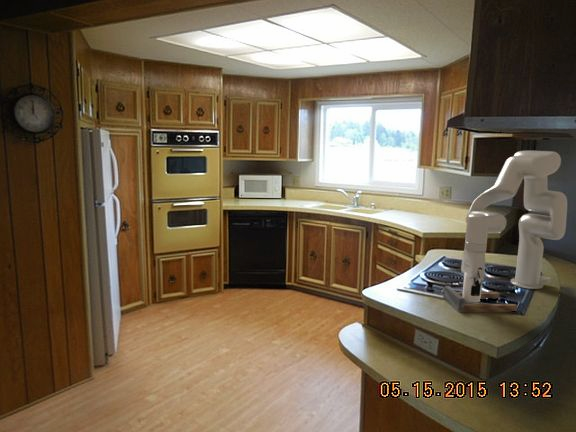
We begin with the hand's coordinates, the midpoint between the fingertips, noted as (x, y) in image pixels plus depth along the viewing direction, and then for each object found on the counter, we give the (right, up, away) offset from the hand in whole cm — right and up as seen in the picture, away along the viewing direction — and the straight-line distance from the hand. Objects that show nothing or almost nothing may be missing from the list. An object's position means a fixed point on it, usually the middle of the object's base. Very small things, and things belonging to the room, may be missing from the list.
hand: (471, 292), depth 165 cm
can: (0, -3, 0) cm, 3 cm away
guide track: (+3, -5, +1) cm, 6 cm away
